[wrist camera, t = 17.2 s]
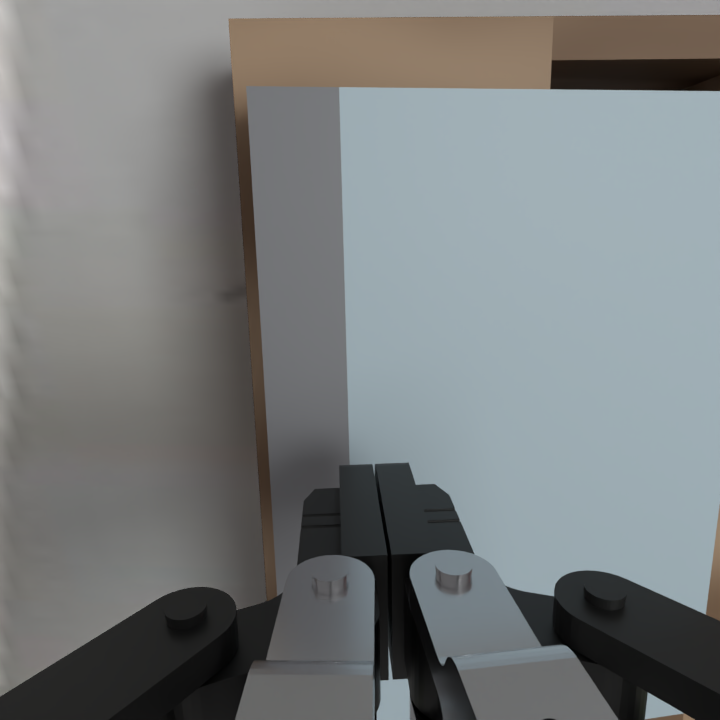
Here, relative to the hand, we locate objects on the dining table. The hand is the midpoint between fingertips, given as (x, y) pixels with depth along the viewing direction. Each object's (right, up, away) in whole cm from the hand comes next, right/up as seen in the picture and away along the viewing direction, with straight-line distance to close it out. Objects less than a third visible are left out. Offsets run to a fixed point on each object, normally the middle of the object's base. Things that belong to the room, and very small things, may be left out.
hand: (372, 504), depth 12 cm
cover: (+4, +1, +4) cm, 5 cm away
